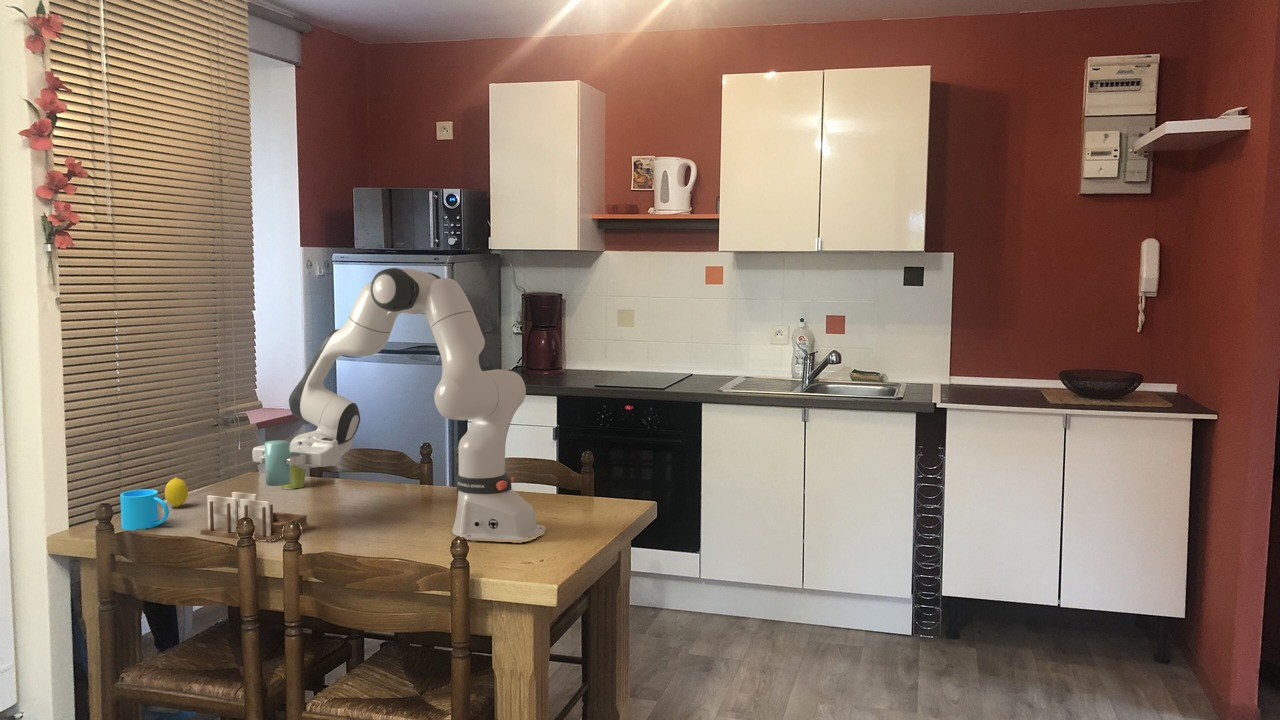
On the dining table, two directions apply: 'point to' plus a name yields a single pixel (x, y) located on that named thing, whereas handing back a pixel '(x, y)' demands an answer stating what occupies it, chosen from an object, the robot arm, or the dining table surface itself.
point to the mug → (141, 509)
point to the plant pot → (296, 477)
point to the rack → (246, 505)
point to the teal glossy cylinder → (277, 462)
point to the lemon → (176, 492)
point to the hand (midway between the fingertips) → (275, 461)
